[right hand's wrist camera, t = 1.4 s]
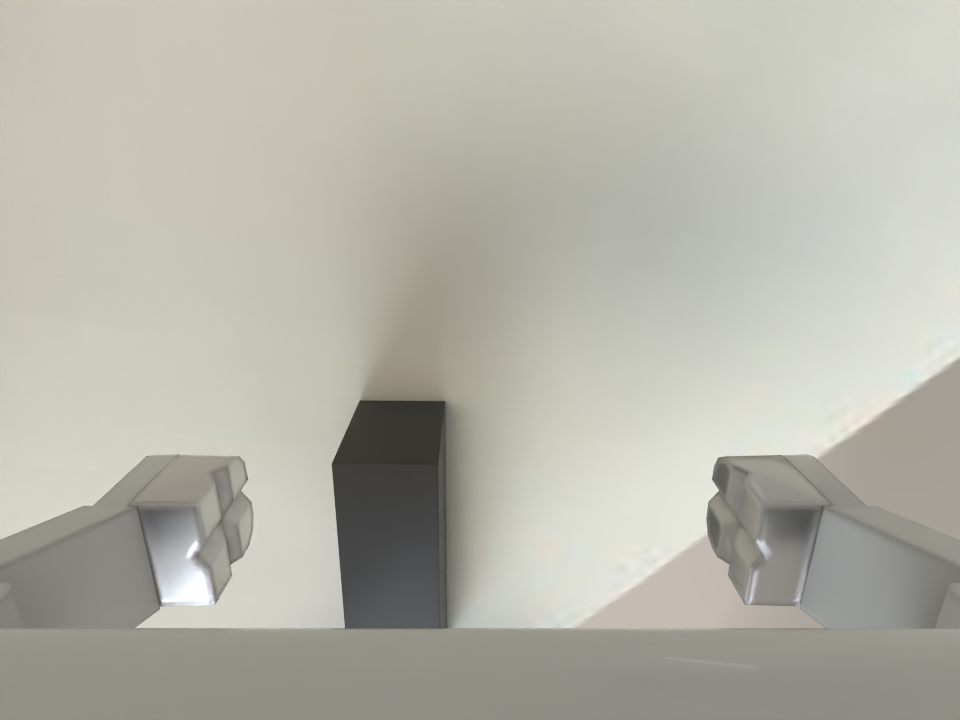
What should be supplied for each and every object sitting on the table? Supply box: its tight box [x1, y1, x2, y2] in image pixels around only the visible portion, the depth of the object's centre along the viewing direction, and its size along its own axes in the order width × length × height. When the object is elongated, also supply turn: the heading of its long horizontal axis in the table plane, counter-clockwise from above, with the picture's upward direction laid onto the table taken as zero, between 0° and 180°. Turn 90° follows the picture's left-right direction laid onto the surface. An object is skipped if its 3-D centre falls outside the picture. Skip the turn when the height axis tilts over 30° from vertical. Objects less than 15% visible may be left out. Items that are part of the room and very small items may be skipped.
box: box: [332, 401, 446, 628], centre depth 43 cm, size 23×6×9 cm, turn 179°
